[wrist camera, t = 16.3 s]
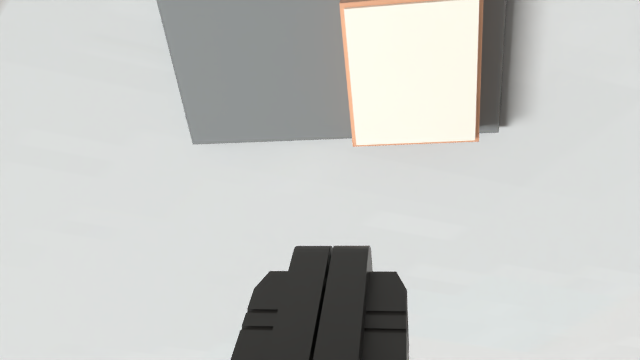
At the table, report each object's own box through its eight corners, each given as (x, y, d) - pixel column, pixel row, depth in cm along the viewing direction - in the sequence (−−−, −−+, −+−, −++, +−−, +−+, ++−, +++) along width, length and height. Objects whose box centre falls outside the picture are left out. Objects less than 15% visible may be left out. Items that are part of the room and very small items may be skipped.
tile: (479, -18, 25) (475, 126, 29) (342, -7, 26) (355, 131, 30) (484, -7, 24) (479, 144, 27) (338, 4, 25) (352, 149, 28)
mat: (512, -142, 23) (514, -142, 23) (497, 126, 29) (498, 132, 29) (137, -101, 26) (131, -99, 25) (196, 139, 32) (192, 144, 31)
